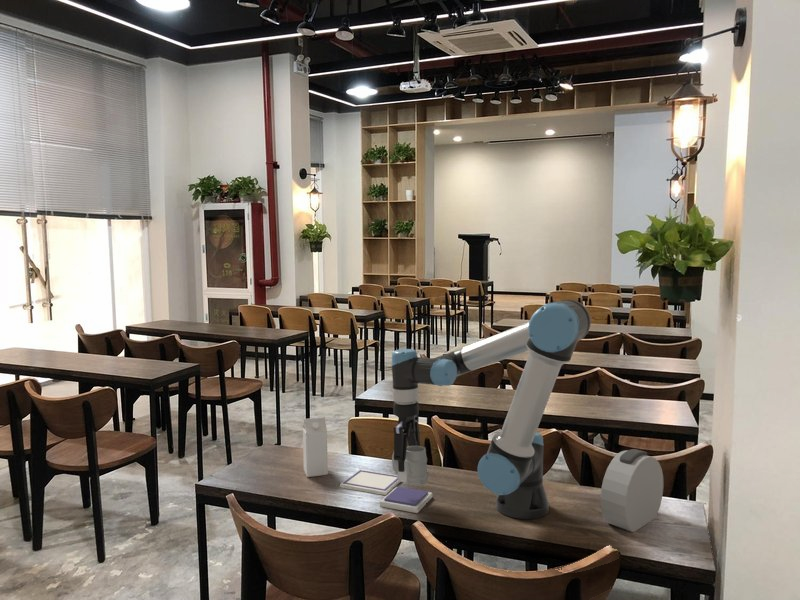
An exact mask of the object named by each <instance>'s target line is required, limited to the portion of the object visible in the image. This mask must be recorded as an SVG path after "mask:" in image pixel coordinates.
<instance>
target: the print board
mask: <svg viewBox="0 0 800 600" xmlns="http://www.w3.org/2000/svg"><path fill="white" fill-rule="evenodd" d="M400 483H401V482H399V481H398V474H391V473H384V472H377V471H373V470H365V469H358V470H357V471H356V472H354V473H353V474H352V475H351V476H349V477H348V478H346V479H345V480H344V481H343V482H341V483H340V484H339V488H340V489H342V488H343V489H346V490H347V489H348V490H354V491H360V492H365V493H371V494H376V495H383V496H387V495H388V494H389V493H390V492H391V491H392V490H393V489H394V488H396V487H397V486H398V485H399V484H400Z"/></svg>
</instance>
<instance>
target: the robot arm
mask: <svg viewBox="0 0 800 600" xmlns="http://www.w3.org/2000/svg"><path fill="white" fill-rule="evenodd" d="M591 318H592V317H591V315H590V312H589V310H588V308H586V306H585V305H584V304H582V303H581V302H579V301H578V300H574V299H562V300H559V301H556V302H553V301H552V302H549V303H546V304H543V305H542V306H540V307H539V308H538V309H537V310H536V311H534V313H533V314H532V315H531V317H530V320H529V321H527V322H525V323H522V324H520V325H517V326H515V327H514V326H513V327H512V328H509V329H507V330H504V331H502V332H499V333H497V334H494V335H492V336H489V337H486V338H484V339H481V340H478V341H476V342H474V343H471V344H469V345H465V346H464V347H461V348H458V349H455V350H453V351H450V352H448V353H445V354H442V355H438V356H435V357H431V358H429V357H420V356H418V353H417V350H415V349H412V348H403V349H396V350H394V351H392V354H391V374H392V389H391V394H392V400H393V401H394V402H393V403H392V404H393V405H392V406H393V409H392V410H393V416H395V417H397V418H398V420H397V426H396V425H394V426H393V435H394V436H393V452H394V460H397V461H398V474H397V475H398V481H399V482H400V483H401V482H402V483H405V482H408V476H407V460H405V459H406V450H407V447H408V446H421V439H420V438H421V437H420V427H419V426H420V425H419V413H420V412H419V411H420V409H419V386H418V385H419V384H423V385H432V386H438V387H442V386H446V387H447V386H448V387H449V386H452V385H453V384H454V382H455V381H456V379H457V377H459V376H462V375H465V374H467V373H470V372H473V371H475V370H478V369H480V368H483V367H487V366H489V365H492V364H494V363H497V362H500V361H504V360H506V359H508V358H511V357H514V356H517V355H521V354H523V353H525V352H528V351H529V354H528V357H527V360H526V363H525V364H524V367H523V371H522V372H521V376H520V379H519V382H518V384H517V387H516V389H515V391H514V392H515V393H514V395H513V397H512V401H511V403H510V406H509V409H508V411H507V414H506V417H505V419H504V422H503V425H502V428H501V430H500V431H499V432H497V433H495V434H493V436H492V438H491V442H490V444H489V446H488V450H487V452H486V453H485V454H483V456H481V458H480V460H479V461H478V464H477V476H478V478H479V480H480V482H481V484H482V485H483V486H484V488H486V490H488V491H489V492H490V493H493V494H495V495H496V497H495V508H496V510H497V511H498V512H500V514H503V515H504V516H507V517H510V518H515V519H521V520H531V519H532V520H534V519H539V518H542V517H545V516H546V515H547V514H548V513H549V506H550V505H549V500H548V496H547V493H546V490H545V487H544V483H543V482H544V481H543V480H544V479H543V476H544V472H543V471H544V468H543V467H544V447H545V444H544V437H543V435H542V434H541V433H540V432H537V431H538V428H539V425H540V423H541V420H542V418H543V415H544V412H545V410H546V408H547V404H548V401H549V399H550V396H551V394H552V392H553V389H554V387H555V383H556V380H557V379H558V376H559V373H560V370H561V368H562V366H563V365H565V364H567V363H569V362H570V361H571V359H572V358H573V357H572V356H573V353H574V351H575V349H576V346H577V344H578V342H579V341H581V340H582V339H584V338H585V337H586V335H587V334H588V333H589V332H590V330H591V329H590V328H591V324H592V321H591Z"/></svg>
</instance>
